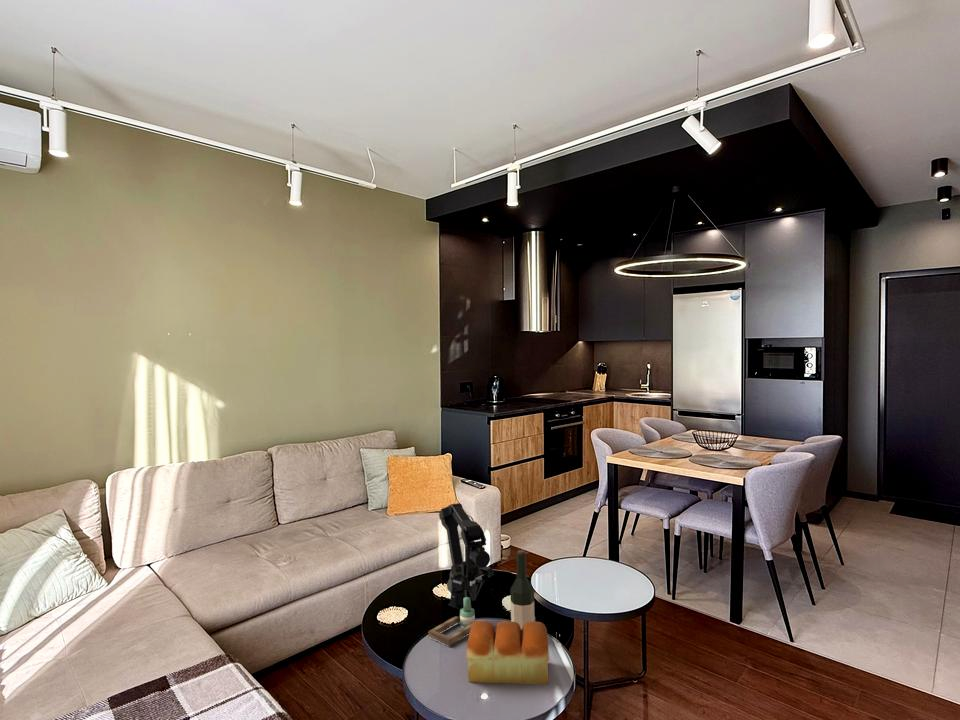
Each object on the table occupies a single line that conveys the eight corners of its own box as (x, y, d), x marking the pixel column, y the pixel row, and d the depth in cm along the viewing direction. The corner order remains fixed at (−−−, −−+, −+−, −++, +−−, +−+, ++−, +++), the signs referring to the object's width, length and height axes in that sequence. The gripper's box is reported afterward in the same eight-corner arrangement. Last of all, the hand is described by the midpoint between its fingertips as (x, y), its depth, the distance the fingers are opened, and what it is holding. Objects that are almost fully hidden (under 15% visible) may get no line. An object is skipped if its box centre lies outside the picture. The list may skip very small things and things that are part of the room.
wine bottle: (534, 630, 190) (532, 547, 191) (535, 642, 182) (532, 555, 183) (511, 630, 191) (510, 547, 192) (511, 641, 183) (509, 555, 184)
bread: (547, 662, 170) (546, 616, 170) (549, 685, 157) (548, 635, 158) (471, 660, 172) (470, 614, 172) (467, 683, 160) (466, 633, 160)
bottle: (466, 620, 199) (466, 594, 199) (477, 624, 196) (477, 597, 196) (457, 626, 195) (456, 599, 195) (468, 630, 192) (467, 603, 192)
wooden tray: (455, 622, 198) (455, 616, 198) (476, 630, 191) (476, 623, 191) (428, 638, 187) (428, 631, 187) (449, 647, 180) (449, 639, 180)
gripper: (472, 547, 211) (472, 587, 211) (440, 561, 197) (441, 603, 196) (494, 553, 204) (494, 593, 204) (462, 568, 190) (463, 611, 189)
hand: (473, 600), depth 198 cm, fingers closed
